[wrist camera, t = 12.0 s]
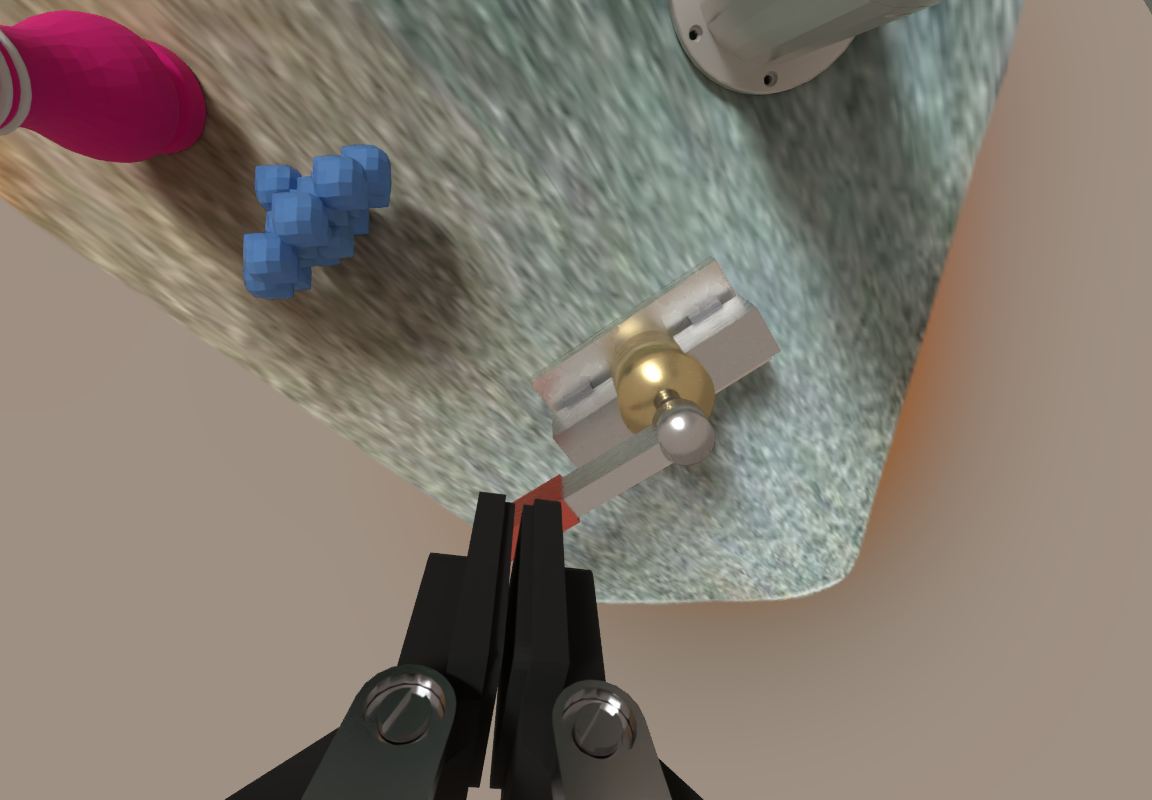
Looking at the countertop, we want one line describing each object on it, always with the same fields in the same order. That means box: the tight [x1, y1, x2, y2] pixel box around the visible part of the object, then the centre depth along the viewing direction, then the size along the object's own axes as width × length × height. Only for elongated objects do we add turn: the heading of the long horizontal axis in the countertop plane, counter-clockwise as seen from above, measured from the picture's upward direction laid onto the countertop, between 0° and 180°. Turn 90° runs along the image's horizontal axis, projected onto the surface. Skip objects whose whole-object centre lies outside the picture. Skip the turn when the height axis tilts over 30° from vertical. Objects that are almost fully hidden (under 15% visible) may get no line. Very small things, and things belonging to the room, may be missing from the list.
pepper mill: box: [0, 10, 206, 163], centre depth 25 cm, size 7×7×20 cm
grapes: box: [243, 145, 391, 300], centre depth 32 cm, size 12×7×12 cm, turn 132°
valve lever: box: [511, 399, 715, 561], centre depth 34 cm, size 16×3×3 cm, turn 123°
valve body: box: [531, 256, 781, 468], centre depth 39 cm, size 16×9×10 cm, turn 125°
